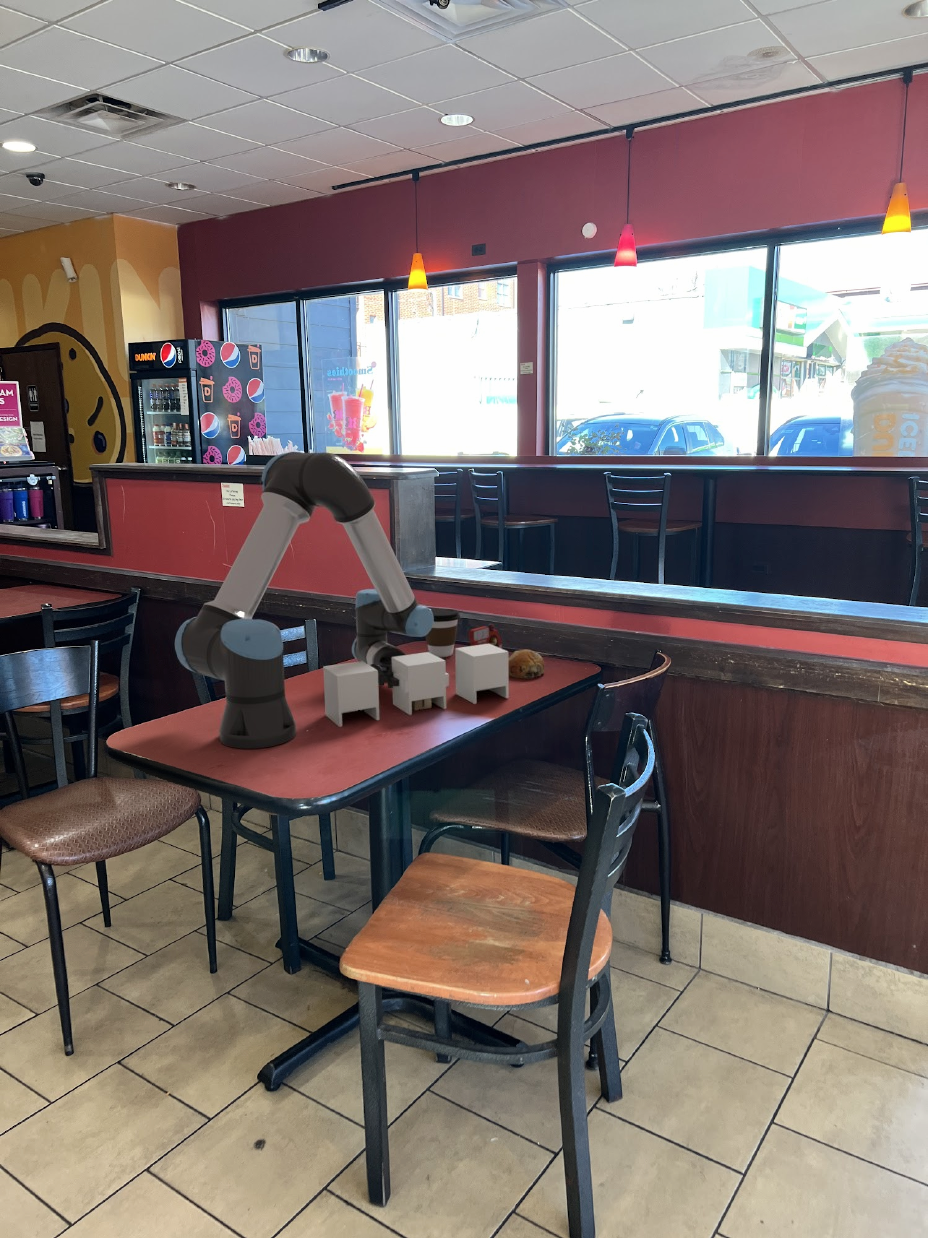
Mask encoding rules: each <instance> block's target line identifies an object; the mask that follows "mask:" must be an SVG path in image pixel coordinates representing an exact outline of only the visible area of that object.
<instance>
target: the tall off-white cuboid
mask: <svg viewBox="0 0 928 1238" xmlns="http://www.w3.org/2000/svg"><path fill="white" fill-rule="evenodd" d="M446 670H447V669H446V660H445V659H443V658H442V657H437V656H435V655H433V654H431V653H429V651H427V652H418V653H411V654H405V655H403V656H396V657H392V672H393V676H394V674H395V673H397V674H399V675H400V676H402V677H404V678H406V679H407V680H409V692H407V693H405V692H404V691H402V690H400V689H399V688H397V687H395V686H393V688H392V705H394V706H395V707H397V708H398V709H400V710H401V711H403V713H406V714H407V715H408V716H412V715H413V714H412V713H413V709H412V701H417V700H423V699H429V698H431V703H433V704H434V705H436V706H438V707H440V708H441V709H443V710H446V709H447V686H446V673H447V671H446Z"/></svg>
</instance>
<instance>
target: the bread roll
mask: <svg viewBox="0 0 928 1238" xmlns="http://www.w3.org/2000/svg"><path fill="white" fill-rule="evenodd" d="M545 665H546V664H545V661H544V658H543V657H542V656H541V655H540V653H537V652H536V651H533V650H531V649H521V650H515V651H514V652H512V654H511V655H509V656H508V677H511V676H512V678H514V677H515V678H514V679H534V677H536V678H538V677H537V676H539V677H540V676H542V675H543V674H544V673H545V670H546V669H545V668H546V666H545ZM541 674H542V675H541Z"/></svg>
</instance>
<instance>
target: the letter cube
mask: <svg viewBox="0 0 928 1238" xmlns="http://www.w3.org/2000/svg"><path fill="white" fill-rule="evenodd" d="M431 708H432V702H431V698H429V699H423V700H417V701H412V710H414V711H418V710H419V709H420V710H424V709H431ZM420 710H419V711H420Z"/></svg>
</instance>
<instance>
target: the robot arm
mask: <svg viewBox="0 0 928 1238" xmlns="http://www.w3.org/2000/svg"><path fill="white" fill-rule="evenodd" d="M262 470H263V471H262V475H261V482H262V485H261V487H262V489H261V490H262V493H261V496H260V498H261V501H262V504H263V507H262V509H261V510H260V511H259V514H258V516H257V517H256V520H255V522H254V523H253V525H252V528H251V530H250V531H249V533H248V535H247V537H246V538H245V541H244V543H243V545H242V546H241V549H240V550H239V553H238V554H237V556H236V558H235V560H234V562H233V564H232V566H231V568H230V570H229V572H228V574H227V575H226V577H225V579H224V581H223V583H222V585H221V587H220V588H219V590H218V592H217V594H216V596H215V597H214V600H211V601H208V602H204V604H203V605H202V607H201V609H200V611H199V613H198V614H197V616H195V617H192V618H189V619H187V620H185V621H184V622H183V623H182V624H181V625H180V627H179V628H178V630H177V632H176V635H175V639H174V649H175V653H176V655H177V659H178V660H179V662H180V664H181V665H182V666H183V667H184V668H186V669H187V670H189V671H191V672H193V673H196V674H197V675H198V676H205V677H210V678H213V679H217V680H220V681H224V690H225V705H224V710H223V714H222V718H221V721H220V724H219V741H220V743H221V744H223V745H224V746H227V747H230V748H235V749H247V750H249V749H250V750H252V749H265V748H269V747H274V746H278V745H282V744H284V743H287V742H289V741H291V740H292V739H294V737H295V736H296V734H297V725H296V720H295V718H294V716H293V713H292V710H291V709H290V706H289V703H288V701H287V699H286V687H285V685H286V684H285V663H284V643H283V637H282V632H281V630H280V628H279V627H278V626H277V625H276V624H274V623H273V622H272V621H271V622H270V621H267V620H263V619H258V618H257V619H253V616H254V614H255V613H256V611H257V608H258V606H259V604H260V602H261V600H262V599H263V596H264V594H265V592H266V590H267V588H268V586H269V585H270V583H271V582H272V579H273V577H274V574H275V573H276V571H277V569H278V567H279V565H280V563H281V560H282V559H283V557H284V555H285V553H286V551H287V549H288V547H289V545H290V543H291V541H292V540H293V538H294V535H295V533H296V531H297V530H298V528H299V525H300V524H304V523H308V522H309V521H310V519H311V517H312V516H313V513H314V511H315V509H316V508H317V507H321V508H325V509H326V510H328V512H329V513H331V515H332V517H333V519H334V521H335V522H336V523H337V524H341V525H342V526H343V529H344V530H345V532H346V534H347V535H348V537H349V540H350V542H351V545H352V546H353V549H354V550H355V551H356V554H357V556H358V557H359V560H360V561H361V563H362V565H363V568H364V569H365V572H366V574H367V575H368V578H369V580H370V581H371V583H372V585H373V587H374V588H367V589H361V590H358V591H357V593H356V594H355V607H354V609H355V622H356V624H355V625H356V626H355V627H356V638H354V640H353V642H352V646H351V654H352V656H353V657H354V658H355V659H356V661H357V662H359V661H363V662H365V663H366V664H368V665H370V666H371V667H373V668H375V669H376V670H378V686H381V687H382V686H385V684H387V688H388V689H393V686H395V687H397V688H399V689H400V690H402V691H404V692H405V693H407V692H409V680H407V679H406V678H404V677H402V676H400V675H399V674H397V673H395V674H394V676H393V672H392V657H396V656H403V655H406V653H404V651H403V650H401V649H400V648H399V647H395V646H394V645H392V644H390V643H388V633H393V634H397V635H398V634H399V635H403V636H407V637H415V638H418V637H419V638H422V637H425V635H427V634H428V633H429V632H430V630H431V629H432V626H433V622H434V618H433V613H432V611H431V610H430V609H431V608H429V607H428V606H426V605H423V604H419V602H418V601H417V599H416V597H415V595H414V592H413V590H412V588H411V586H410V584H409V581H408V579H407V577H406V576H405V573H404V570H403V569H402V567H401V564H400V562H399V560H398V559H397V557H396V554H395V552H394V549H393V548H392V545H391V543H390V542H389V539H388V537H387V535H386V532H385V531H384V529H383V526H382V525H381V522H380V520H379V518H378V515H377V514H376V512H375V510H374V508H375V506H376V501H375V499H374V496H373V495H372V493H371V491H370V489H369V487H368V486H367V484H366V483H365V481H364V479H363V478H362V477H361V475H360V474H359V472H358V471H357V470H356V469H355V468H354V466H352V465H351V464H350V463H349V462H348V461H347V460H345V459H344V458H342V457H341V456H339V455H337V454H335V453H332V452H331V453H330V452H326V451H325V452H302V451H301V452H300V451H289V452H284V453H283V452H282V453H280V454H277V455H275V456H273V457H272V458H271V459H269V460H268V462H267V463H266V465H265V467H264V469H262ZM449 686H450V674H449V673H447V672H446V687H449Z"/></svg>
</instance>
